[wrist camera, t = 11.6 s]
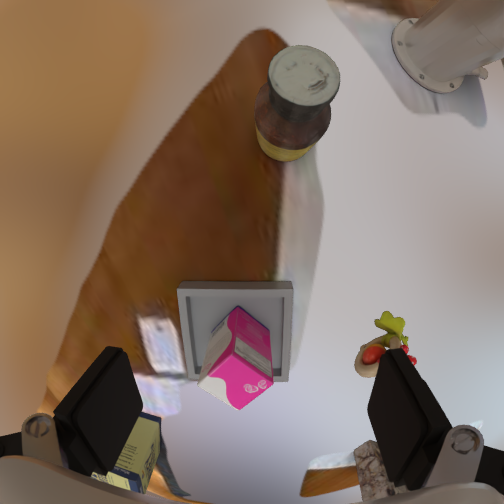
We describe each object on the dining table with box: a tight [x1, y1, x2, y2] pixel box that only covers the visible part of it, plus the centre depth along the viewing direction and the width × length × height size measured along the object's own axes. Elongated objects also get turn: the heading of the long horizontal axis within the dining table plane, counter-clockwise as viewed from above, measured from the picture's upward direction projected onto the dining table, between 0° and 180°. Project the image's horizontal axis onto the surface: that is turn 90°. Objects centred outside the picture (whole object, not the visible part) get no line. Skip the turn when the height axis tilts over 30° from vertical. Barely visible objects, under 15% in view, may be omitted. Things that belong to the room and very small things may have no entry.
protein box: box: [91, 412, 161, 494], centre depth 38 cm, size 10×16×16 cm
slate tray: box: [177, 281, 293, 382], centre depth 37 cm, size 14×14×3 cm
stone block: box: [354, 440, 409, 501], centre depth 36 cm, size 13×7×20 cm, turn 60°
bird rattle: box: [354, 311, 417, 378], centre depth 34 cm, size 6×11×9 cm
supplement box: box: [197, 305, 274, 411], centre depth 32 cm, size 6×6×12 cm
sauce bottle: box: [254, 45, 340, 161], centre depth 23 cm, size 7×6×20 cm
